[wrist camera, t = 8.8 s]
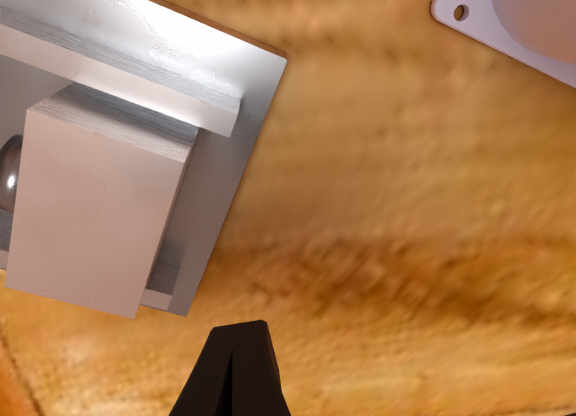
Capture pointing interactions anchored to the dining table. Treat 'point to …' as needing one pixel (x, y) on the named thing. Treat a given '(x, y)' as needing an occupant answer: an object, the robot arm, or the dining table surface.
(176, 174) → the ram
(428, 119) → the dining table surface
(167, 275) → the press frame
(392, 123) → the dining table surface
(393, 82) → the dining table surface
